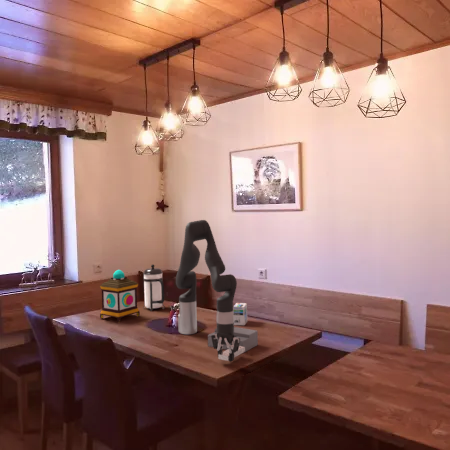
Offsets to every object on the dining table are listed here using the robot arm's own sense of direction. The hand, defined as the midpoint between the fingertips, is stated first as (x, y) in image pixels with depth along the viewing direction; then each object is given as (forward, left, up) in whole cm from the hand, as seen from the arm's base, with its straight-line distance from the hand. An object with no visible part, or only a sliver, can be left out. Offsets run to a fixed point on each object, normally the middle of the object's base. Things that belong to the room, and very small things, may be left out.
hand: (225, 359), depth 190 cm
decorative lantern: (-101, +34, -2) cm, 107 cm away
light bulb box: (-29, +60, -2) cm, 67 cm away
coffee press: (-97, +62, -2) cm, 115 cm away
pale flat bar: (0, +5, +1) cm, 5 cm away
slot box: (-11, +23, -2) cm, 26 cm away
